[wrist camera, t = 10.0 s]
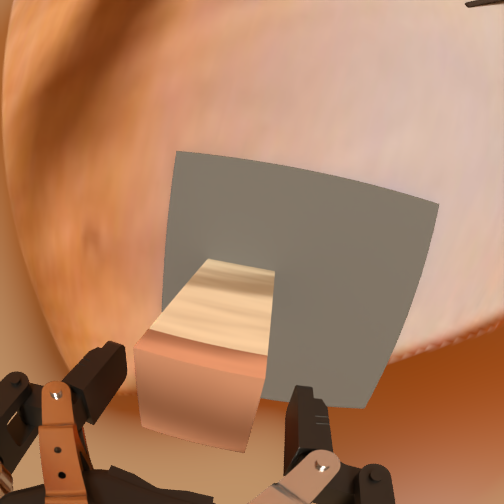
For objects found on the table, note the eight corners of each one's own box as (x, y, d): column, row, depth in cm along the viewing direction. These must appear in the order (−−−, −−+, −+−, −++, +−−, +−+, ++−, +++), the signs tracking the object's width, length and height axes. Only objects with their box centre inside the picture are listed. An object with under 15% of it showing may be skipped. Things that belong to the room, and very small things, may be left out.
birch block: (207, 258, 21) (133, 347, 10) (274, 271, 21) (265, 379, 10) (201, 317, 23) (141, 426, 11) (262, 329, 22) (244, 453, 11)
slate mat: (179, 151, 20) (176, 150, 20) (435, 203, 19) (439, 204, 18) (163, 371, 26) (161, 375, 25) (363, 404, 24) (364, 408, 24)
